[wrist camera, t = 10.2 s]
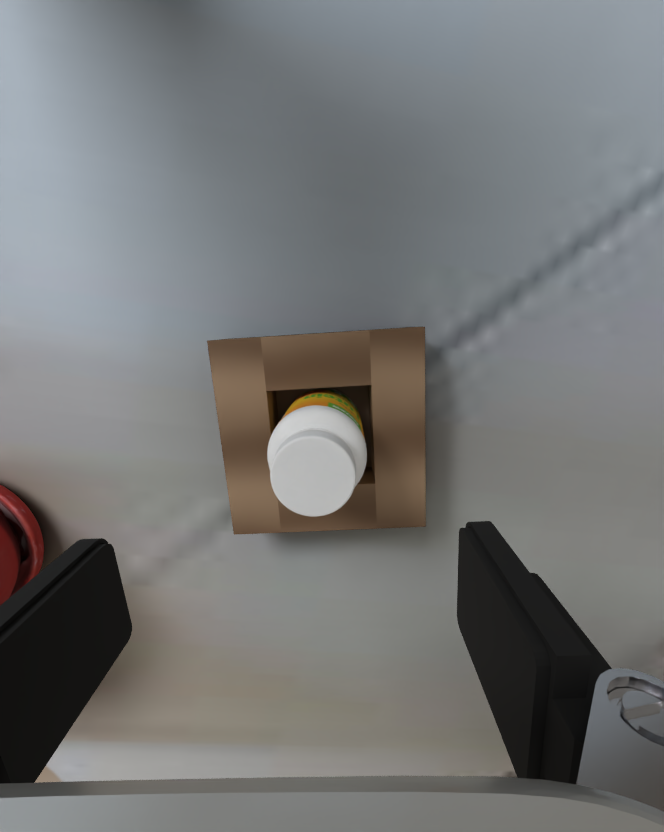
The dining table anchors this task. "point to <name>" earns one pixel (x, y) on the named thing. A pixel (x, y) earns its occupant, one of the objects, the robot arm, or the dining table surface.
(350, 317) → the dining table surface
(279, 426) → the supplement bottle
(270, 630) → the dining table surface
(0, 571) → the plant pot
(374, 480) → the socket block
